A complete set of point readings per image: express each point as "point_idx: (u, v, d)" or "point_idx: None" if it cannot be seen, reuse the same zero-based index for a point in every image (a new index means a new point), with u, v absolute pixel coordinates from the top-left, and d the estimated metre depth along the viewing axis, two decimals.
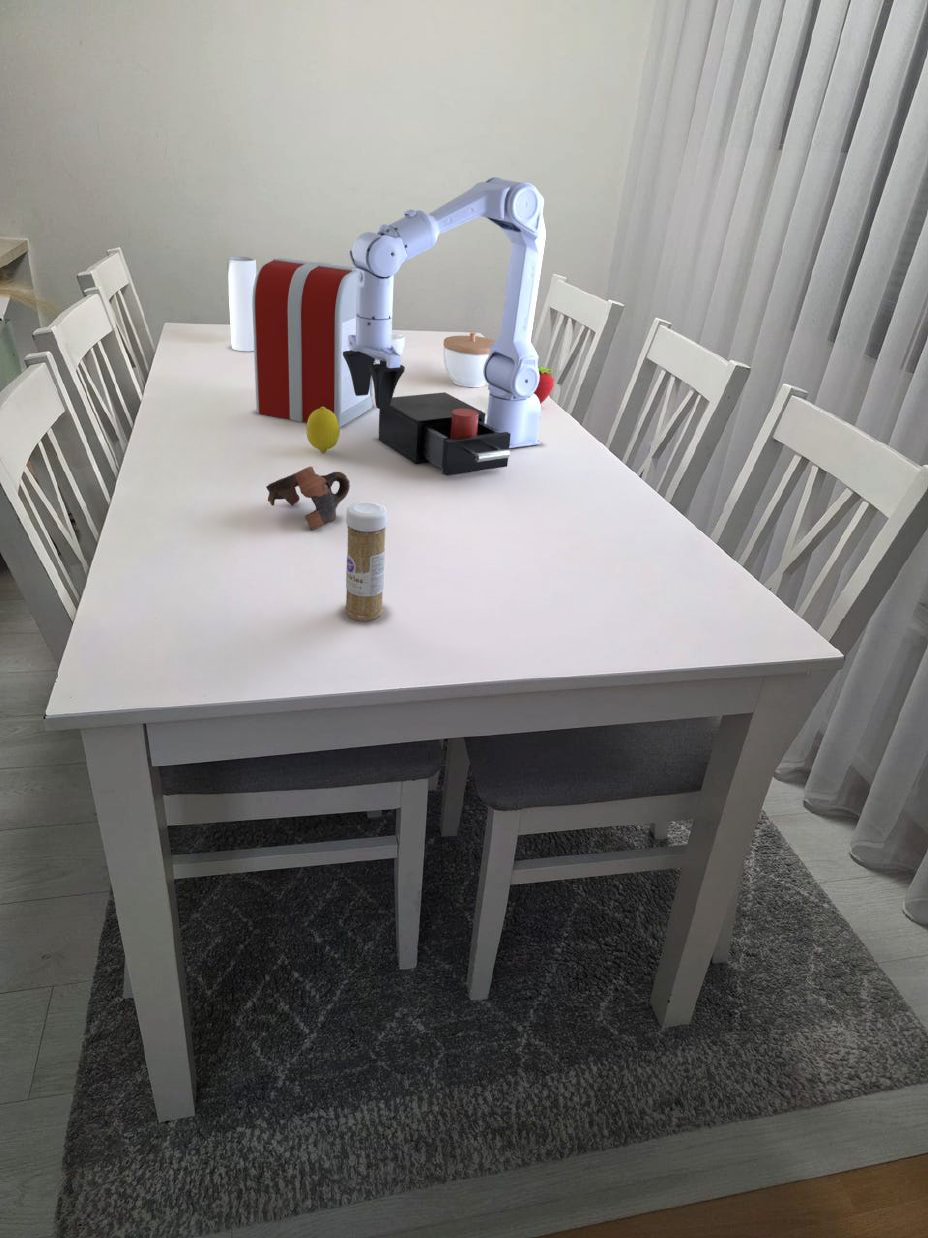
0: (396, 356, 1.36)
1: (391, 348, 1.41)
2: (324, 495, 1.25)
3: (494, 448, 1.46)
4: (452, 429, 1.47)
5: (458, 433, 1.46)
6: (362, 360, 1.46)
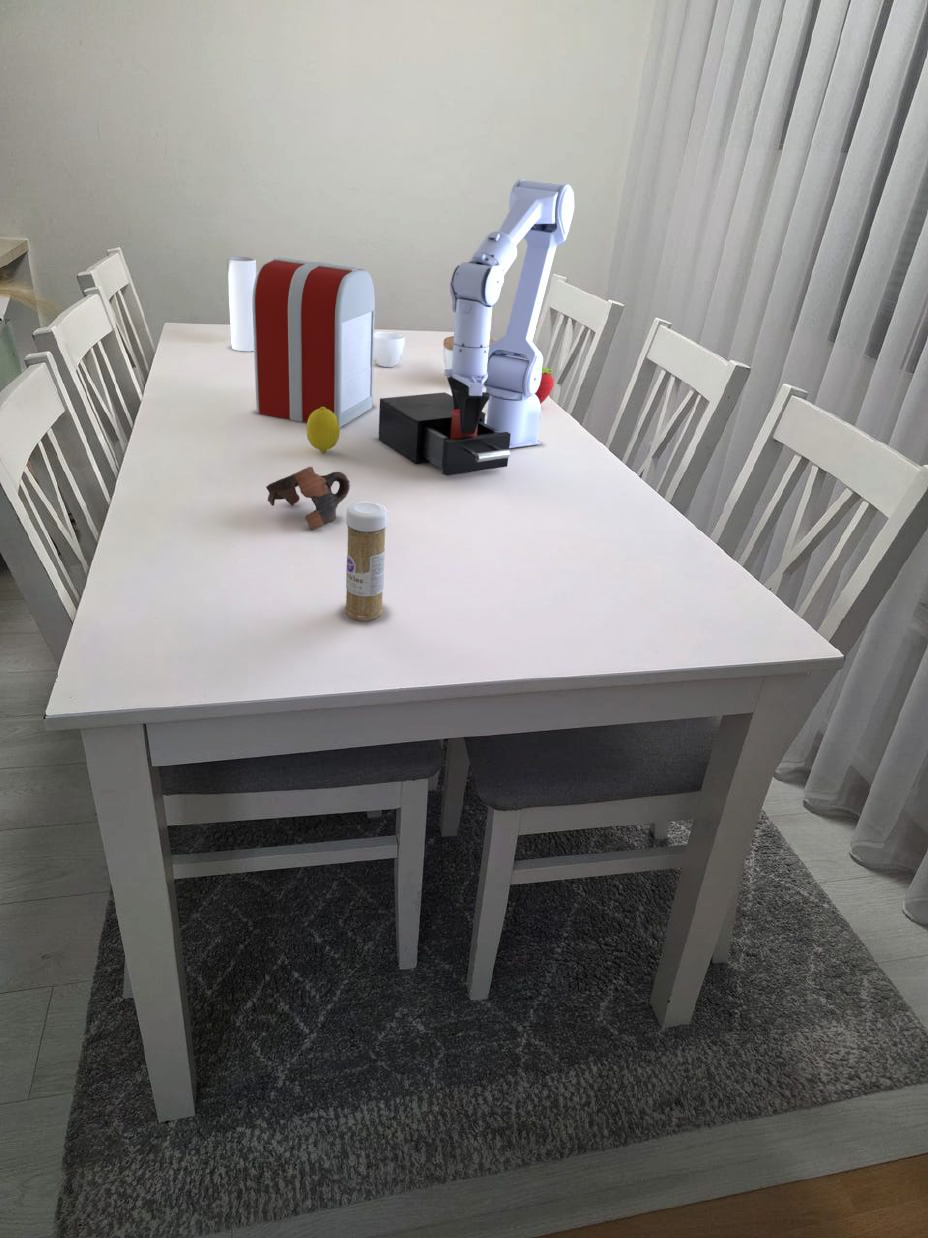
0: (478, 384, 1.37)
1: (483, 377, 1.41)
2: (324, 495, 1.24)
3: (494, 448, 1.46)
4: (452, 429, 1.47)
5: (458, 433, 1.46)
6: (464, 387, 1.48)
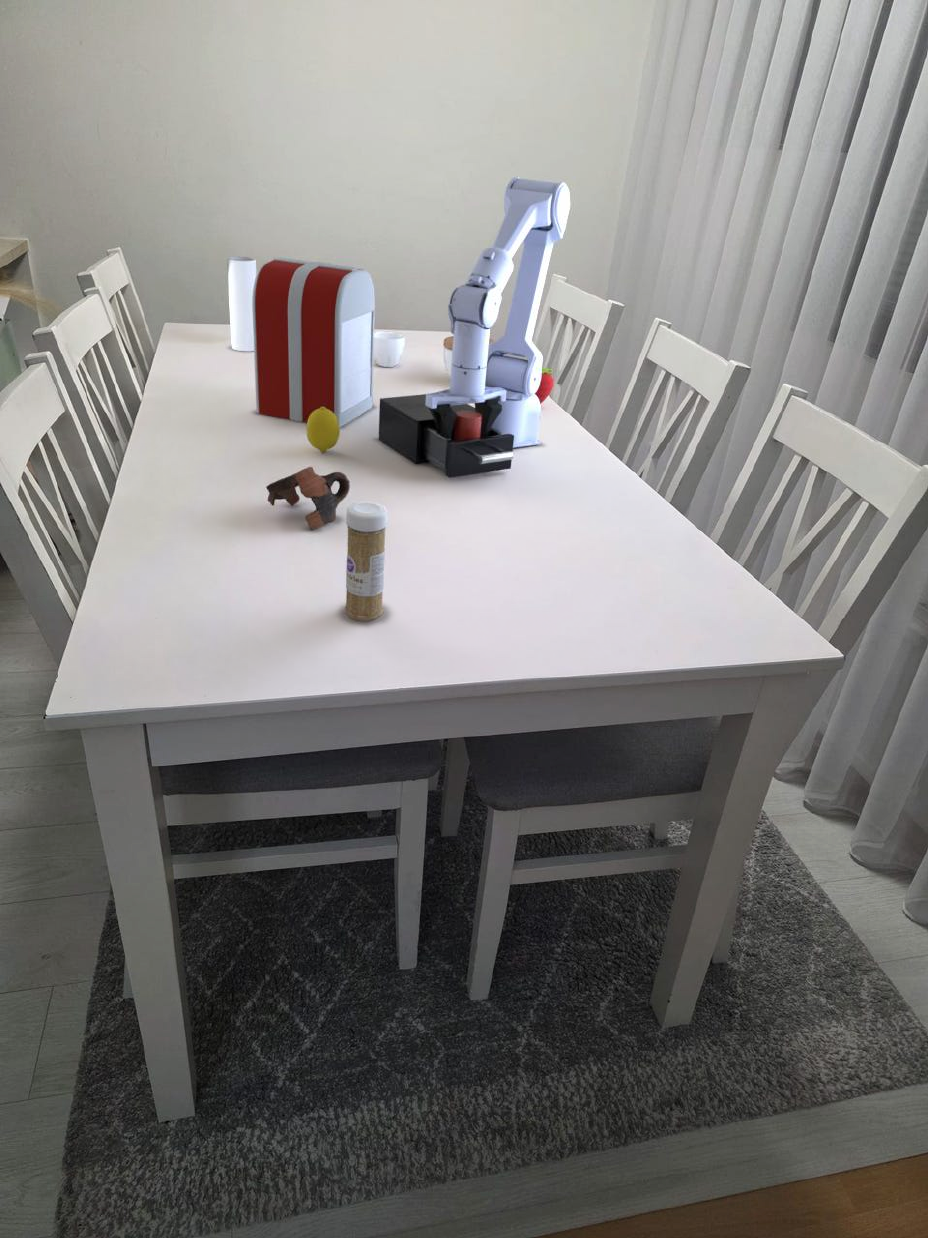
0: None
1: None
2: (324, 495, 1.24)
3: (497, 450, 1.45)
4: (455, 431, 1.46)
5: (461, 435, 1.46)
6: None
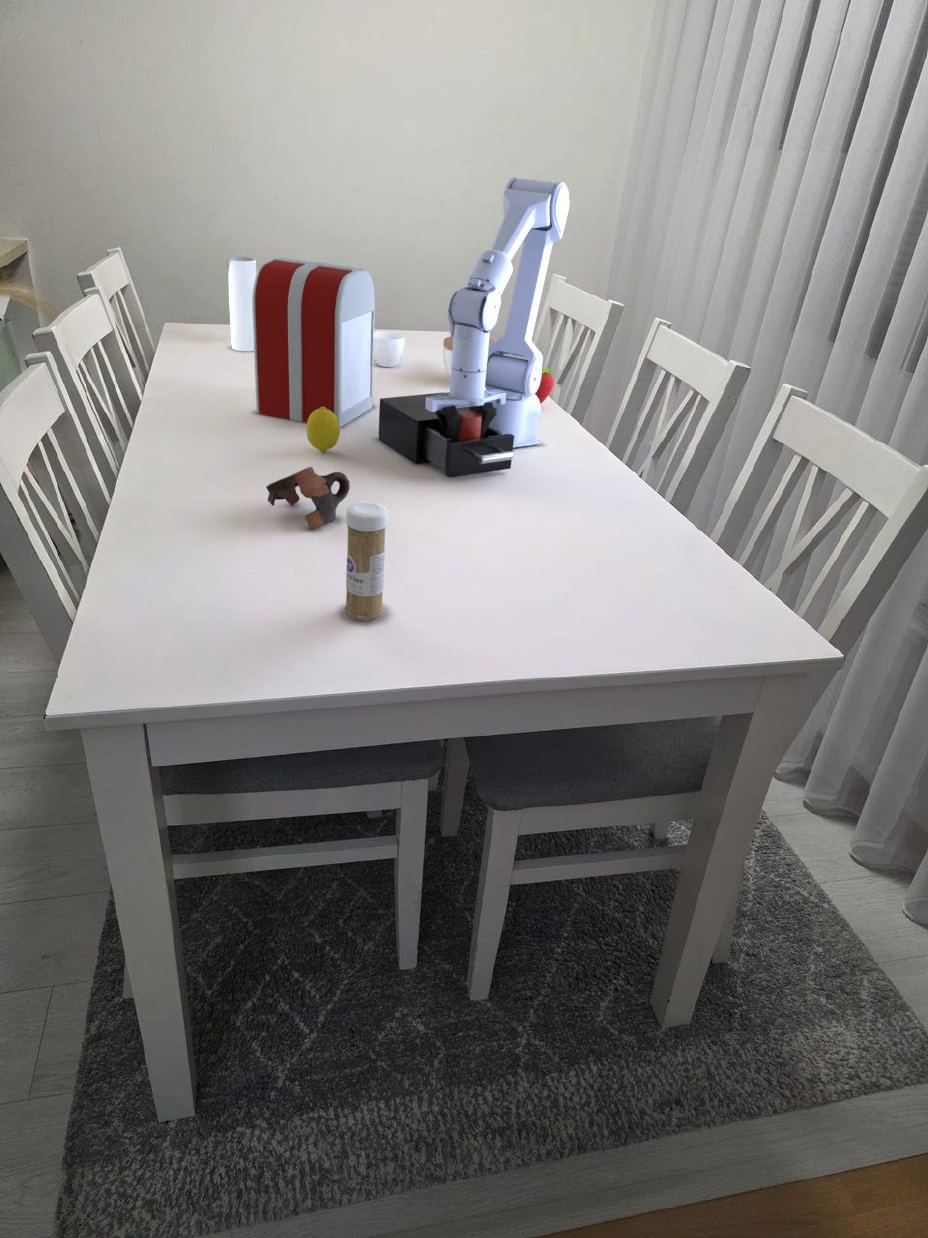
0: None
1: None
2: (324, 495, 1.24)
3: (497, 450, 1.45)
4: None
5: (462, 435, 1.46)
6: None
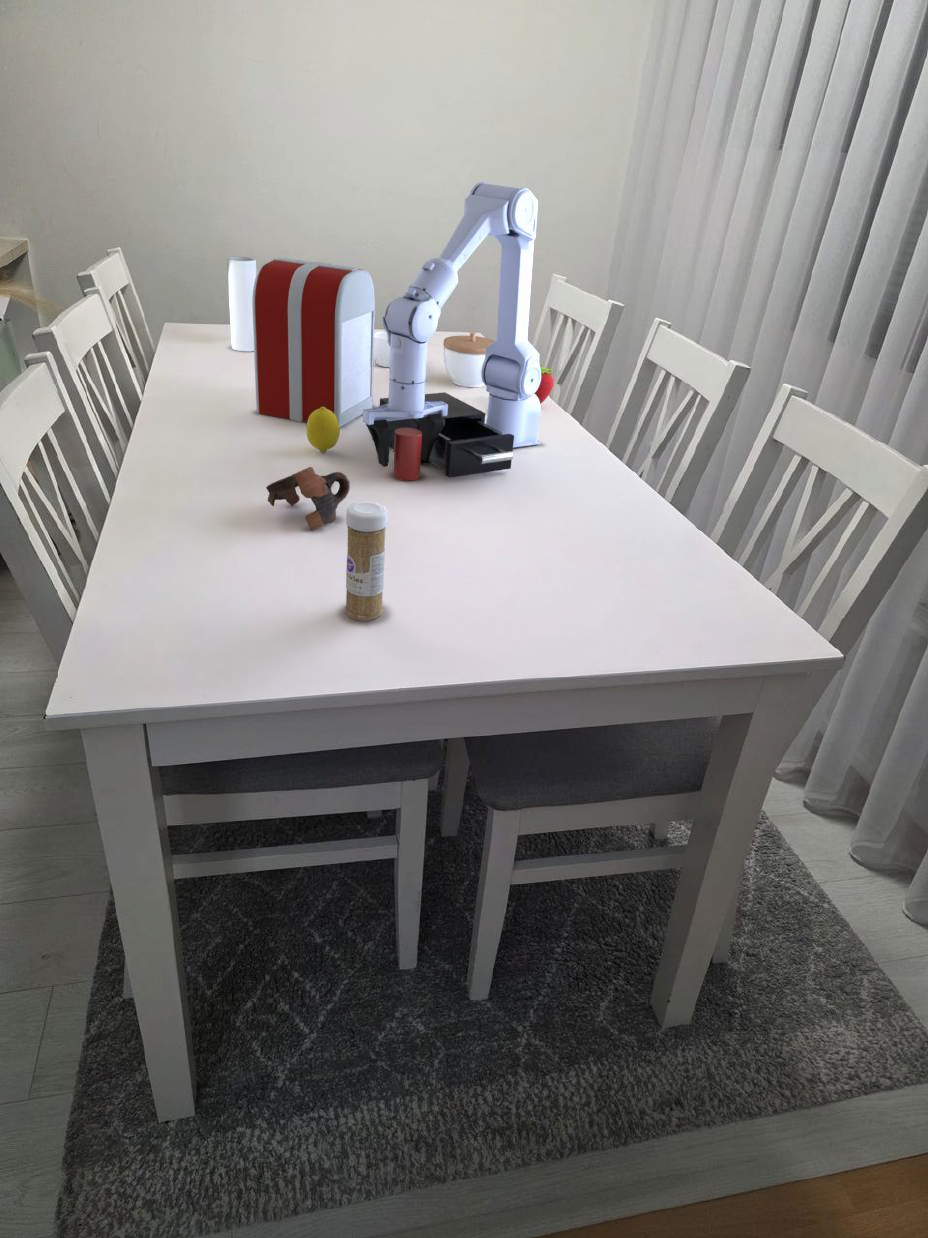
0: None
1: None
2: (324, 495, 1.24)
3: (497, 450, 1.45)
4: (395, 449, 1.42)
5: (401, 453, 1.41)
6: None
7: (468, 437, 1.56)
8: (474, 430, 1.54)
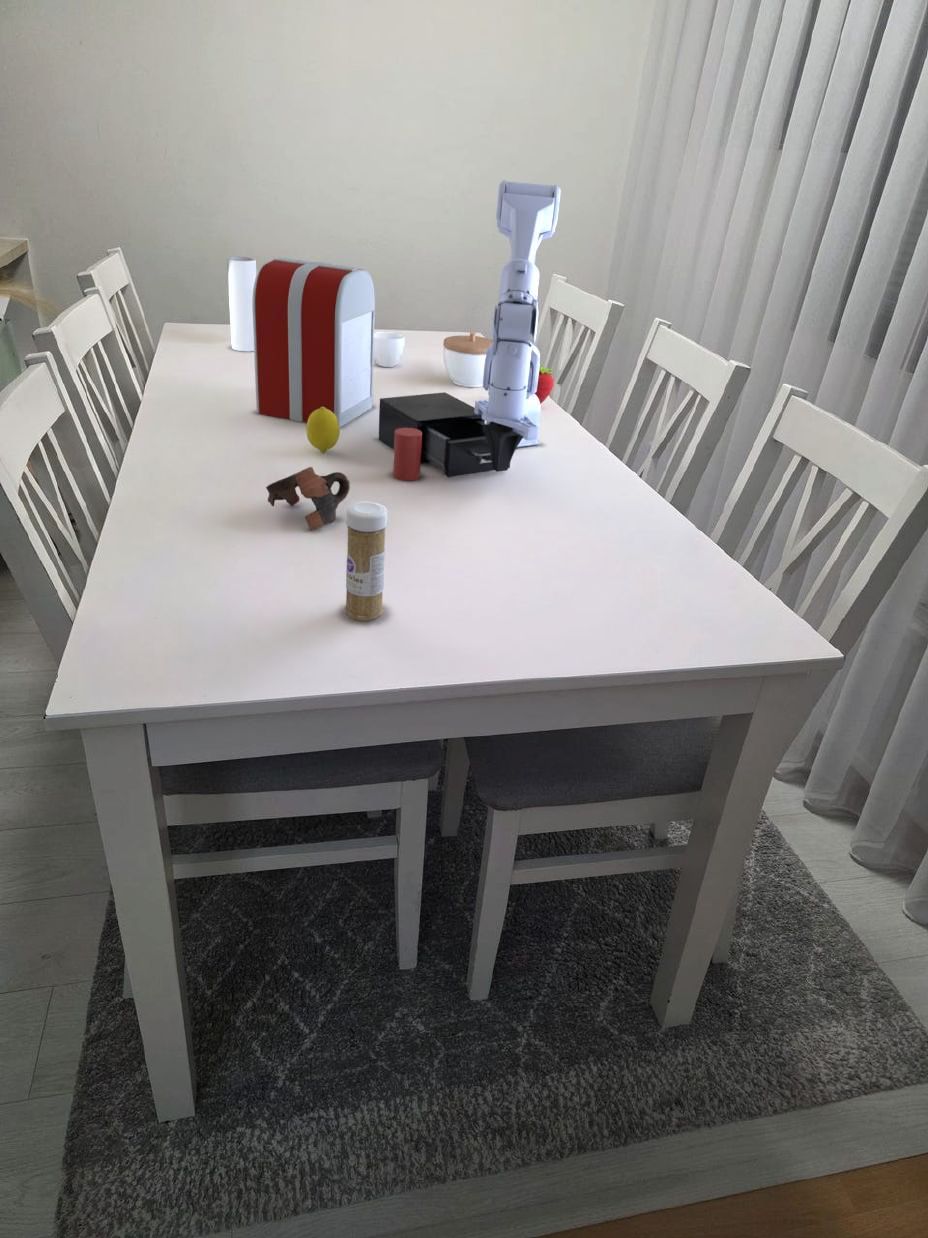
0: (534, 428, 1.32)
1: (525, 418, 1.36)
2: (324, 496, 1.24)
3: None
4: (395, 449, 1.42)
5: (401, 453, 1.41)
6: None
7: (467, 437, 1.56)
8: (473, 429, 1.54)
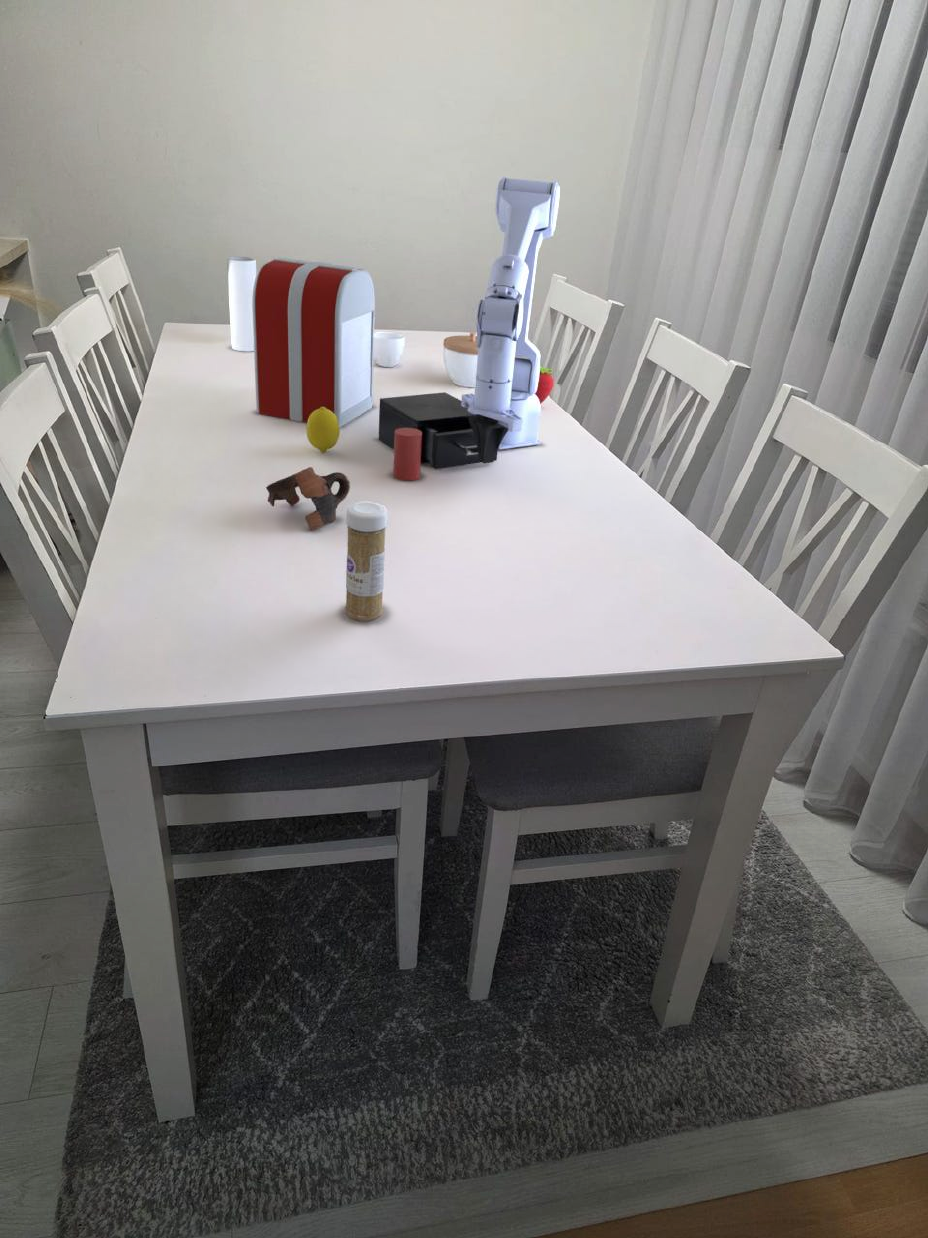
0: (519, 420, 1.35)
1: (510, 410, 1.39)
2: (324, 496, 1.24)
3: None
4: (395, 449, 1.42)
5: (401, 453, 1.41)
6: None
7: (456, 430, 1.59)
8: (461, 423, 1.57)
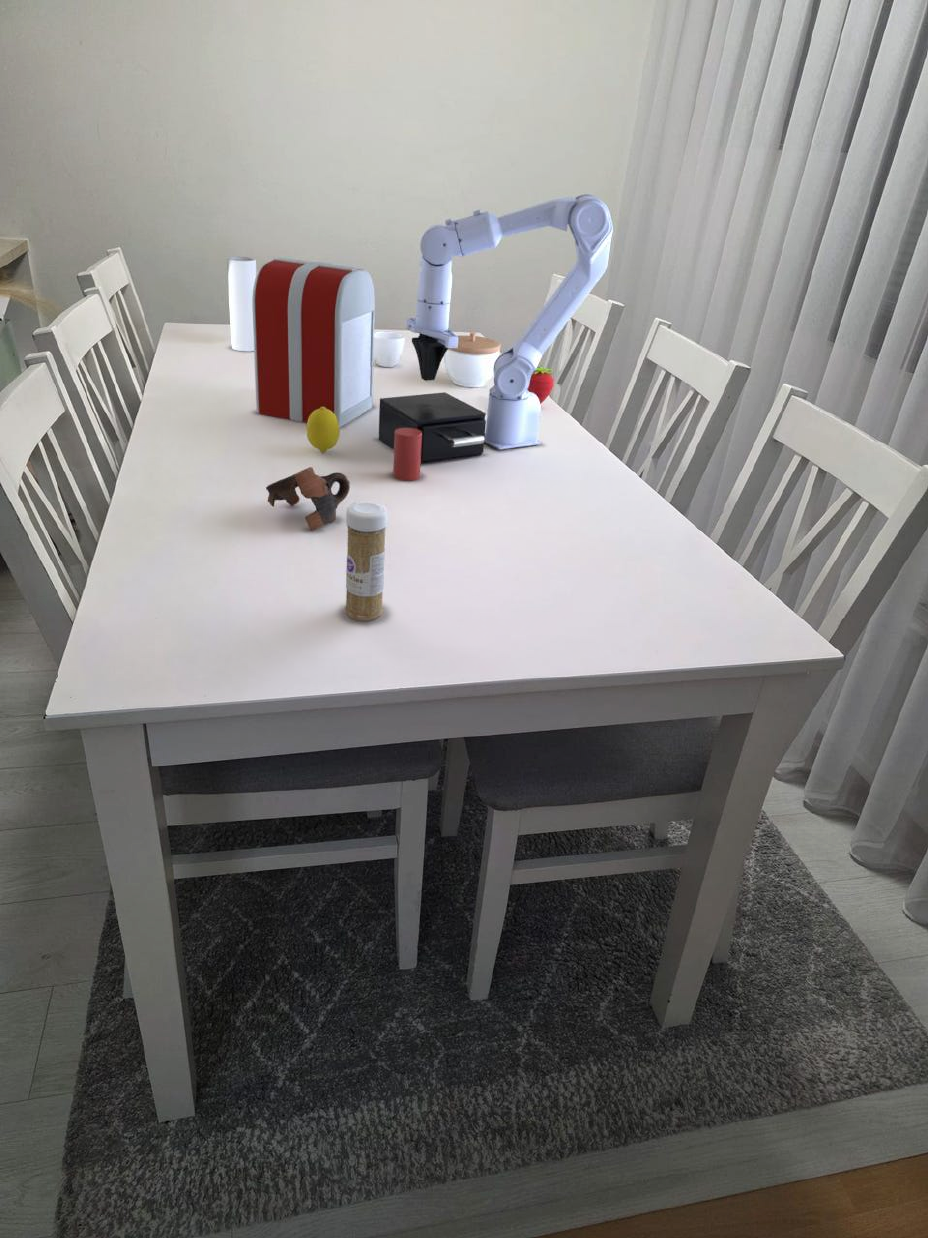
0: (454, 337, 1.50)
1: (448, 330, 1.54)
2: (324, 496, 1.24)
3: (469, 434, 1.51)
4: (395, 449, 1.42)
5: (401, 453, 1.41)
6: None
7: None
8: None
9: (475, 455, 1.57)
